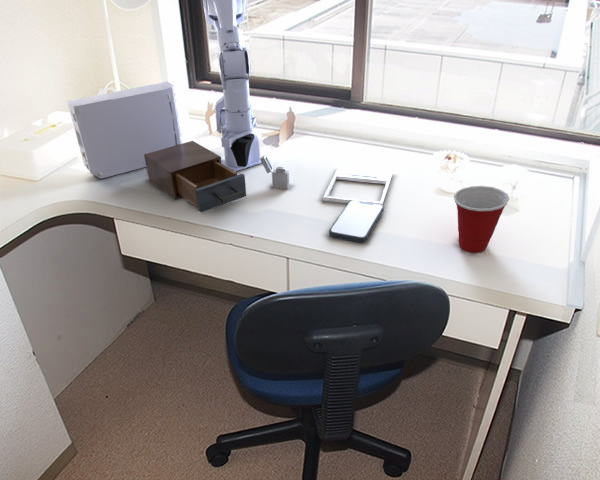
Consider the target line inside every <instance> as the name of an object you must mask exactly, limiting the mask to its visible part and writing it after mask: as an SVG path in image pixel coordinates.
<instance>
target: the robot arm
mask: <svg viewBox="0 0 600 480" xmlns="http://www.w3.org/2000/svg"><path fill="white" fill-rule="evenodd" d="M202 5H203V11H204V16H205V17H204V18H205V20H206V23H207V24H208V25H210V26H213V27H214V28H215V32H216V42H217V48H218V54H217V65H218V72H219V77H220V78H219V79H220V81H221V82H220V83H221V88H222V94H223V95H222V96H221V97H220V98H219V99H218V100H216V102H215V105H214V109H215V111H214V113H215V120H216V121H215V122H216V132H218V134H221V136H222V137H221V138H220V139H221V140H220V141H221V147H222V148H223V152H224V154H223V155H224V159H223V160H222V159H221V163H222V165H224V166H226V167H227V168H229V169H231V170H233V171H234V172H236V173H237V172H239V171H242V170H245V169H247V168H250V167H253V166H258V165H259V164H262V162H261V160H260V158H261V148H260V139H259V136H258V133H257V132H256V130H254V129H255V127H257V126H258V123H257V117H254V113H253V112H254V111H253V106H252V102H251V96H250V82H249V79H250V78H251V64H250V63H251V62H250V61H251V60H250V55H249V52H248V49H247V47H245V41H244V35H243V32H242V30H241V29H240V28H239V27H238V25H239V24H241V23H243V22H244V19H245V15H246V14H245V13H246V0H202Z"/></svg>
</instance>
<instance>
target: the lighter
mask: <svg viewBox="0 0 600 480" xmlns="http://www.w3.org/2000/svg"><path fill="white" fill-rule="evenodd" d="M260 160H261V162H262V163H261V164H262V166H263V168H264V170H265V172H266V174H270V173H271V182H272V188H275V189H281V190H283V189H284V190H288V189H289V188H290V171H289V170H286V168H285V167H284V166H276V168H274V167H273V165H272V163H271V161H270V159H269V157H268V155H267V154H265V155H262V156H260Z"/></svg>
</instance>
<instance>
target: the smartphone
mask: <svg viewBox="0 0 600 480" xmlns="http://www.w3.org/2000/svg"><path fill="white" fill-rule="evenodd" d="M384 209H385V206H384V205H379V204H373V203H367V202H361V201H355V200H352V201H350V202H349V203H346V205H345V207H344V208H343V210H342V211H341V212H340V214H339V215H338V217H337V218H336V220H335V221H334V222H333V224H332V225H331V227H330V228H329V230H328V235H329V237H331V238H333V239H339V240H343V241H349V242H353V243H359V244H362V243H366V242H367V240H368V239H369V237H370V236H371V233H372V232H373V230H374V228H375V227H376V225H377V223H378V222H379V221H380V219H381V216H382V215H383V213H384Z"/></svg>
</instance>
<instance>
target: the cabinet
mask: <svg viewBox="0 0 600 480" xmlns="http://www.w3.org/2000/svg"><path fill="white" fill-rule="evenodd" d="M144 157H145V162H146V167H145V168H146V173H147V177H148V181H149V182H150V183H151V184H153V185H154V186H155V187H157V188H158V189H160V190H161V191H162V192H164V193H165V194H167V195H168V196H169V197H171V198H172V199H174V200H179V199H182V198H183V197H182V196H181V195H179V194H178V193H177V192H176V186H175V180H174V174H175V173H179V172H182V171H185V170H188V169H191V168H194V167H198V166H201V165H204V164H207V163H210V162H214V161H217V162H219V163H220V164H222V163H221V161H222V156H221V155H219V154H218V153H216V152H214V151H211V150H210V149H208V148H206V147H205V146H203V145H201V144H199V143H197V142H196V141H194V140H190V141H187V142H182V144H179V145H176V146H172V147H169V148H165V149H162V150H158V151H155V152H151V153H148V154H144Z"/></svg>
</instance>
